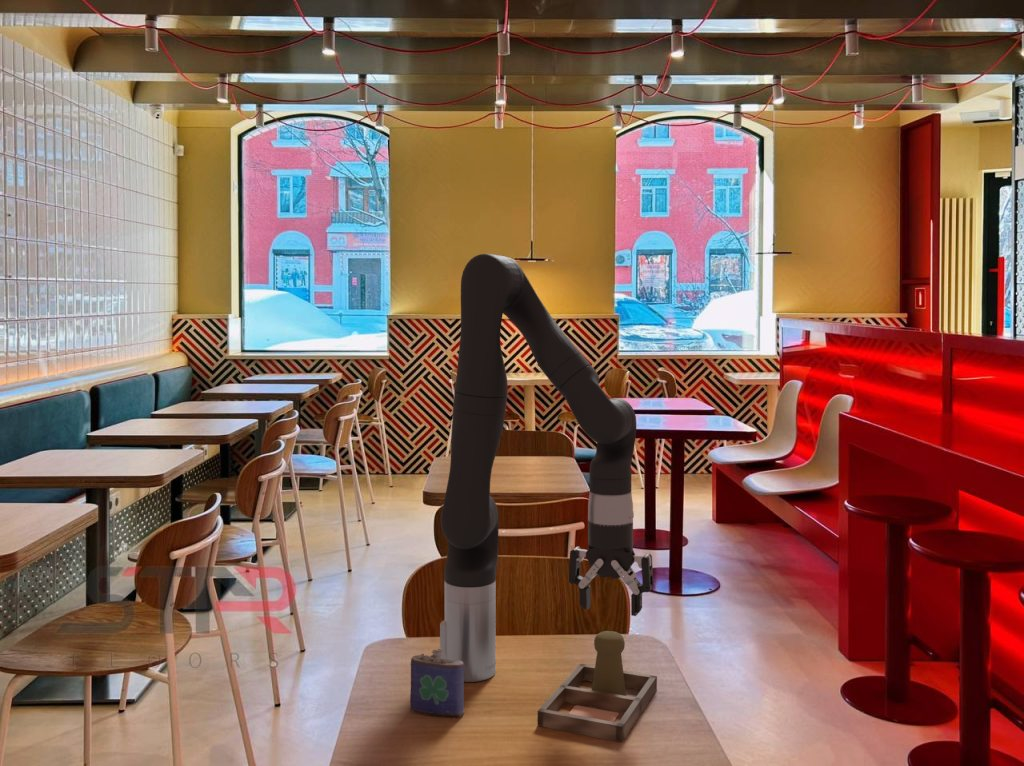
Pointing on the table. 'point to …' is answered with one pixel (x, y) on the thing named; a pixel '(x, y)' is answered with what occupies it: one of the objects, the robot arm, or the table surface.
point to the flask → (437, 686)
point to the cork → (609, 663)
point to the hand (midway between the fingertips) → (610, 611)
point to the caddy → (597, 706)
